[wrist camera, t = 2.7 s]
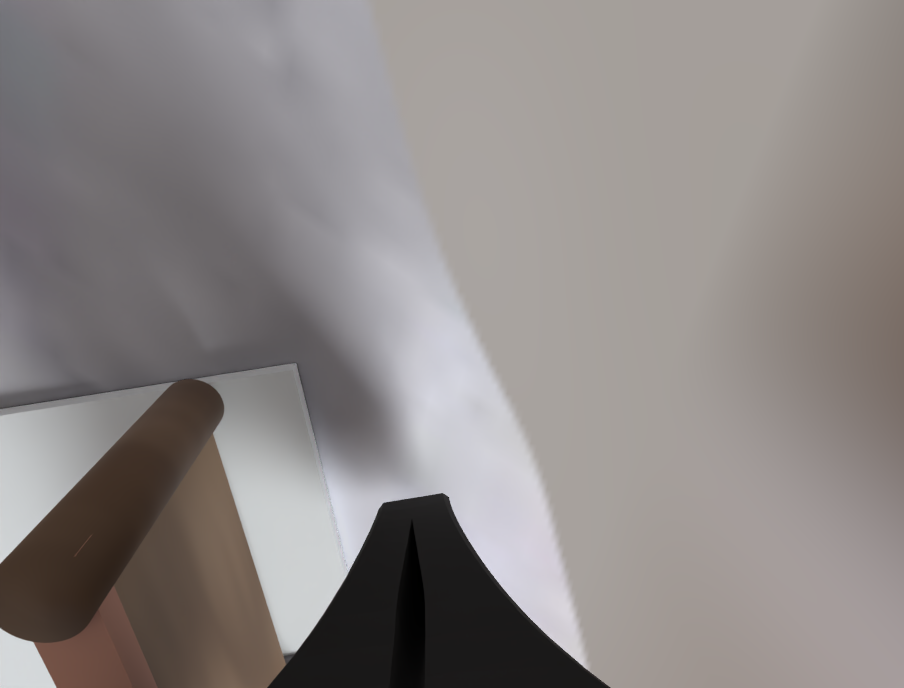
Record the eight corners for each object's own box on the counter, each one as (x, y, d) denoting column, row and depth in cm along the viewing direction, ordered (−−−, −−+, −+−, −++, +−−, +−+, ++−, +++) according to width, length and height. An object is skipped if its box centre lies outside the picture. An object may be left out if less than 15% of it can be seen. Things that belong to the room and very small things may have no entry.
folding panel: (303, 665, 14) (250, 948, 9) (254, 674, 14) (173, 963, 9) (215, 374, 11) (71, 552, 6) (154, 384, 11) (-37, 570, 6)
